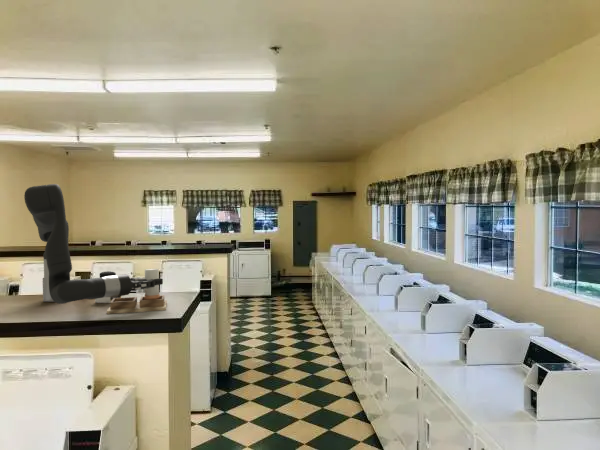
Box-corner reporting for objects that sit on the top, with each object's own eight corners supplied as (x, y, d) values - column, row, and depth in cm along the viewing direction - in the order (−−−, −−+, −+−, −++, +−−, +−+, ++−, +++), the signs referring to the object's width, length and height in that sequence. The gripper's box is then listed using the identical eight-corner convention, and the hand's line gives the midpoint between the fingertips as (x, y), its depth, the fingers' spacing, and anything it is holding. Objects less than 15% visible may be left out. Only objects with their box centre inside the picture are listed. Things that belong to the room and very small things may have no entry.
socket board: (106, 313, 162) (106, 304, 161) (112, 306, 175) (112, 297, 175) (165, 310, 167) (165, 300, 167) (166, 302, 180) (166, 293, 180)
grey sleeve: (144, 300, 169) (143, 270, 168) (145, 297, 174) (144, 268, 174) (159, 299, 170) (158, 270, 170) (160, 297, 175) (159, 268, 175)
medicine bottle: (110, 303, 181) (110, 273, 180) (94, 302, 182) (94, 272, 182) (121, 299, 188) (120, 270, 187) (105, 299, 189) (105, 270, 189)
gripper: (123, 277, 156) (168, 272, 169) (105, 273, 166) (148, 269, 179) (124, 299, 157) (168, 292, 169) (105, 294, 166) (149, 288, 179)
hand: (158, 280), depth 174 cm, fingers closed on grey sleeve, 5 cm apart
